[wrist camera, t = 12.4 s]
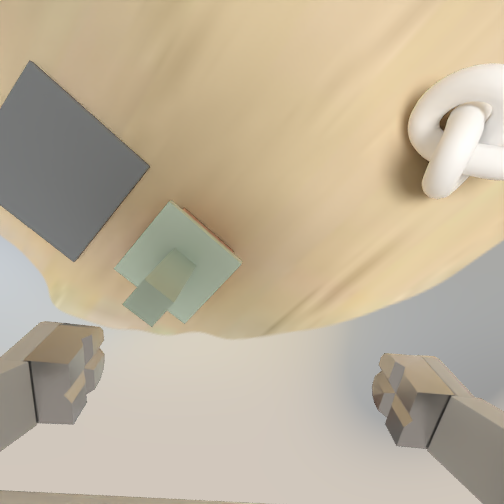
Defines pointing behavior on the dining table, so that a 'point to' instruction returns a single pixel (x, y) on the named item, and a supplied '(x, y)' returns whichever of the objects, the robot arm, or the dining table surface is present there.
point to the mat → (60, 164)
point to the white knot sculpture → (461, 128)
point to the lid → (174, 267)
